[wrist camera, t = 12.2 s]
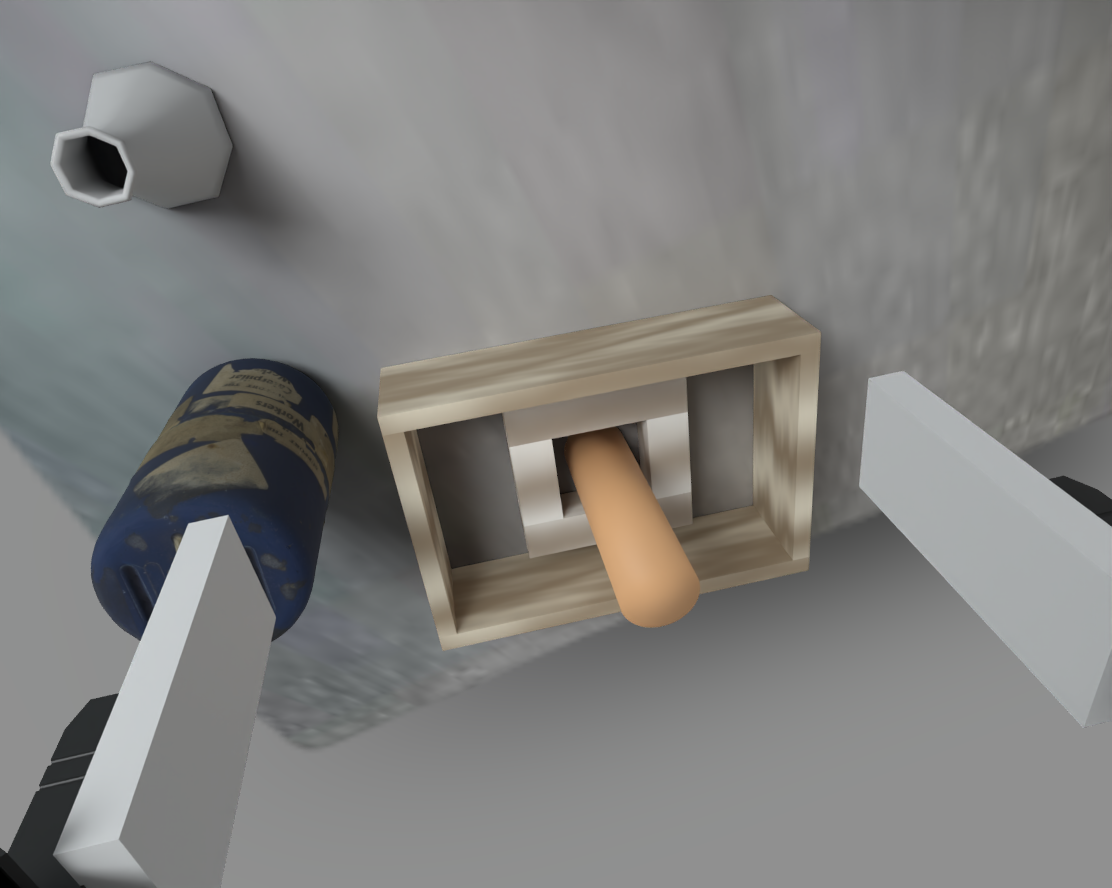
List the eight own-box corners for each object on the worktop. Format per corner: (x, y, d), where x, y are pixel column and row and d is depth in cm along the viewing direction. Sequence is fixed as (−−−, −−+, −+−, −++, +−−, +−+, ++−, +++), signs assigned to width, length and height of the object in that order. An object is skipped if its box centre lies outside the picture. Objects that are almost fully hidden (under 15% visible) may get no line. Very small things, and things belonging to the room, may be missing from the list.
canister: (344, 357, 47) (313, 519, 32) (339, 486, 51) (309, 685, 36) (177, 342, 45) (57, 509, 29) (186, 479, 49) (85, 687, 34)
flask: (95, 201, 41) (12, 248, 32) (72, 51, 37) (-28, 58, 29) (238, 214, 42) (195, 262, 34) (228, 70, 39) (178, 83, 30)
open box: (380, 368, 48) (377, 417, 42) (771, 295, 50) (821, 331, 44) (438, 584, 57) (442, 650, 51) (767, 514, 59) (808, 570, 53)
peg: (560, 427, 52) (616, 571, 38) (622, 415, 53) (699, 554, 39) (567, 480, 54) (622, 634, 41) (626, 468, 55) (701, 617, 41)
